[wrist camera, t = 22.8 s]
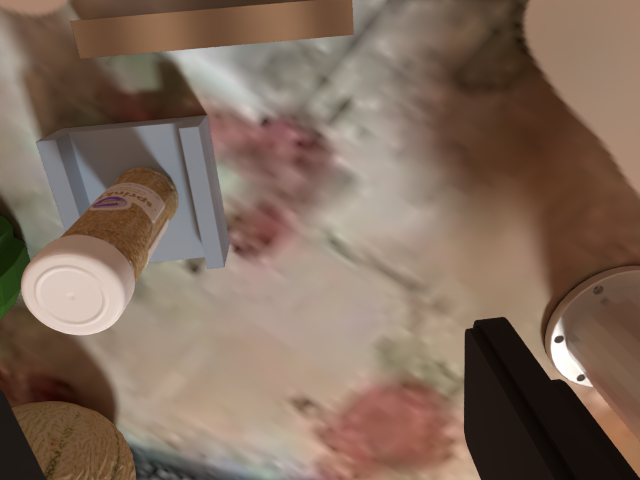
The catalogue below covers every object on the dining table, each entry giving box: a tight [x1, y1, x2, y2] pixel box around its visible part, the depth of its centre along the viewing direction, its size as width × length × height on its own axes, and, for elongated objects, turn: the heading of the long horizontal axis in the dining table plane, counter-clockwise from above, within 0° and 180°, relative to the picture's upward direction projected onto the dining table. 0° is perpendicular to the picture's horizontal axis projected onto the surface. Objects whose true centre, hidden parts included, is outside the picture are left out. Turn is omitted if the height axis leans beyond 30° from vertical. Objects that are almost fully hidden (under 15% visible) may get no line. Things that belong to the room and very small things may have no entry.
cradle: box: [36, 115, 230, 269], centre depth 34 cm, size 10×10×4 cm
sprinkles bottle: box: [21, 167, 178, 335], centre depth 28 cm, size 5×5×13 cm
